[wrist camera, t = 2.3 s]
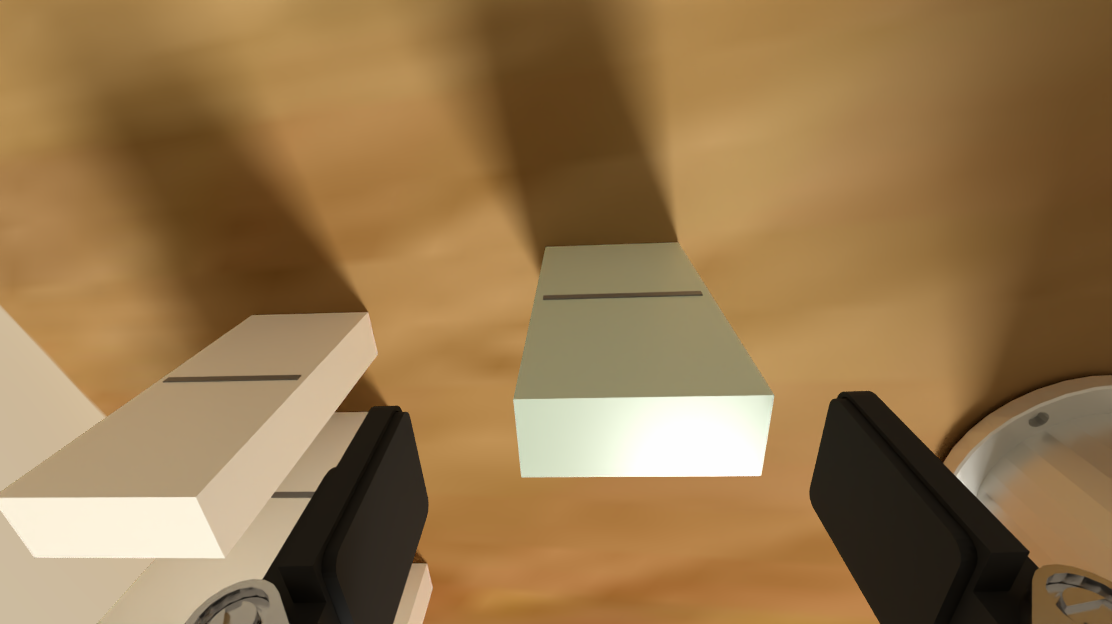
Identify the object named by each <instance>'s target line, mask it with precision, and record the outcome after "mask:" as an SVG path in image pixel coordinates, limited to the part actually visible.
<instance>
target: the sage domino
mask: <svg viewBox="0 0 1112 624" xmlns="http://www.w3.org/2000/svg"><path fill="white" fill-rule="evenodd" d="M513 400H514V410H515V420H516V429H517V439H518V449H519V458H520V468H521V477H652V476H761V473H762V467H763V461H764V455H765V449H766V443H767V437H768V431H769V425H770V419H771V413H772V406H773V400H774V394H773V392H772V391H771V389H770V387H769V386H768V384H767V383H766V381H765V380H764V378H763V376H762V375H761V373H760V372H759V370H758V368H757V367H756V365H755V364H754V362H753V360H752V359H751V357H750V356H749V354H748V352H747V351H746V349H745V348H744V346H743V344H742V343H741V341H740V340H739V338H738V337H737V335H736V333H735V332H734V330H733V329H732V327H731V325H730V324H729V322H728V321H727V319H726V317H725V316H724V314H723V313H722V311H721V309H720V308H719V306H718V305H717V303H716V301H715V300H714V298H713V297H712V295H711V294H710V292H709V290H708V289H707V287H706V286H705V284H704V282H703V281H702V279H701V278H700V276H699V274H698V273H697V271H696V270H695V268H694V266H693V265H692V263H691V262H690V260H689V259H688V257H687V255H686V254H685V252H684V251H683V249H682V247H681V246H680V244H679V243H678V242H670V243H641V244H612V245H583V246H554V247H545V252H544V257H543V261H542V266H541V271H540V276H539V280H538V285H537V290H536V295H535V299H534V304H533V309H532V314H531V318H530V323H529V328H528V332H527V337H526V342H525V347H524V351H523V356H522V361H521V366H520V370H519V375H518V380H517V385H516V389H515V394H514V399H513Z"/></svg>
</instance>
